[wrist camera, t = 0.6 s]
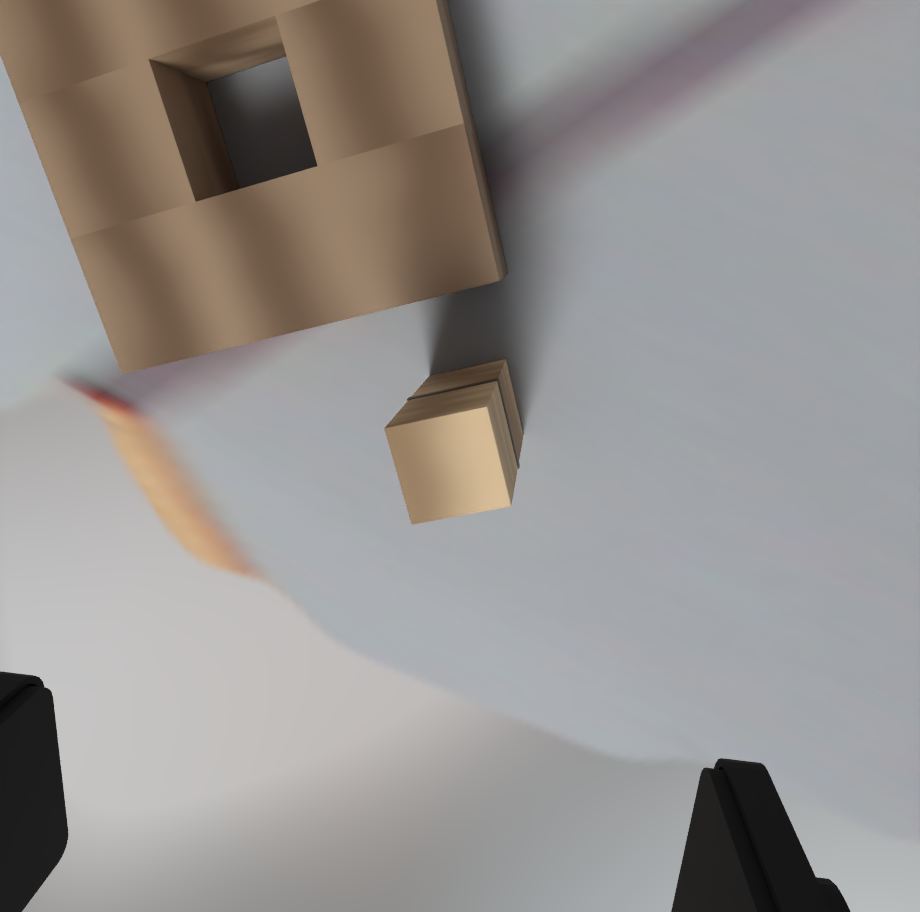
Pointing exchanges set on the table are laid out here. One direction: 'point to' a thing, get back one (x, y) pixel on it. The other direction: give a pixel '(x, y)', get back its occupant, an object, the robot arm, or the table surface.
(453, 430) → the peg
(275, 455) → the table surface
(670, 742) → the table surface
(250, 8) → the board
